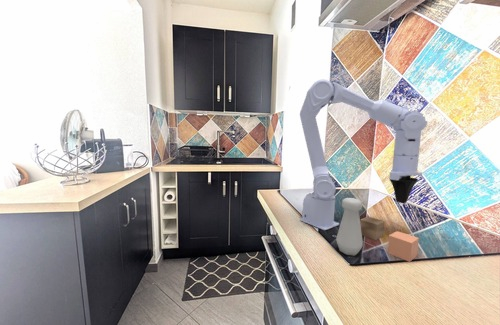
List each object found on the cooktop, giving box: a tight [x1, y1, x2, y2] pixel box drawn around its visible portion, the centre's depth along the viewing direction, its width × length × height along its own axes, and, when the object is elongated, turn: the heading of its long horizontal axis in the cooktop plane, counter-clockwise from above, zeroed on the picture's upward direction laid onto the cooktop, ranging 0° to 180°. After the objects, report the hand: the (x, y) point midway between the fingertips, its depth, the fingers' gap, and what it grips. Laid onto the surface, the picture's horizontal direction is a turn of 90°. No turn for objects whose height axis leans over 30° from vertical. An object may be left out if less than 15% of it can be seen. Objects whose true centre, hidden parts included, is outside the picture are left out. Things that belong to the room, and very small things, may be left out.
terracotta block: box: [386, 230, 420, 263], centre depth 49 cm, size 4×4×4 cm
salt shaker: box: [335, 197, 364, 257], centre depth 50 cm, size 6×6×13 cm
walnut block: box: [360, 216, 386, 241], centre depth 59 cm, size 4×4×4 cm
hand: (401, 202), depth 60 cm, fingers closed
